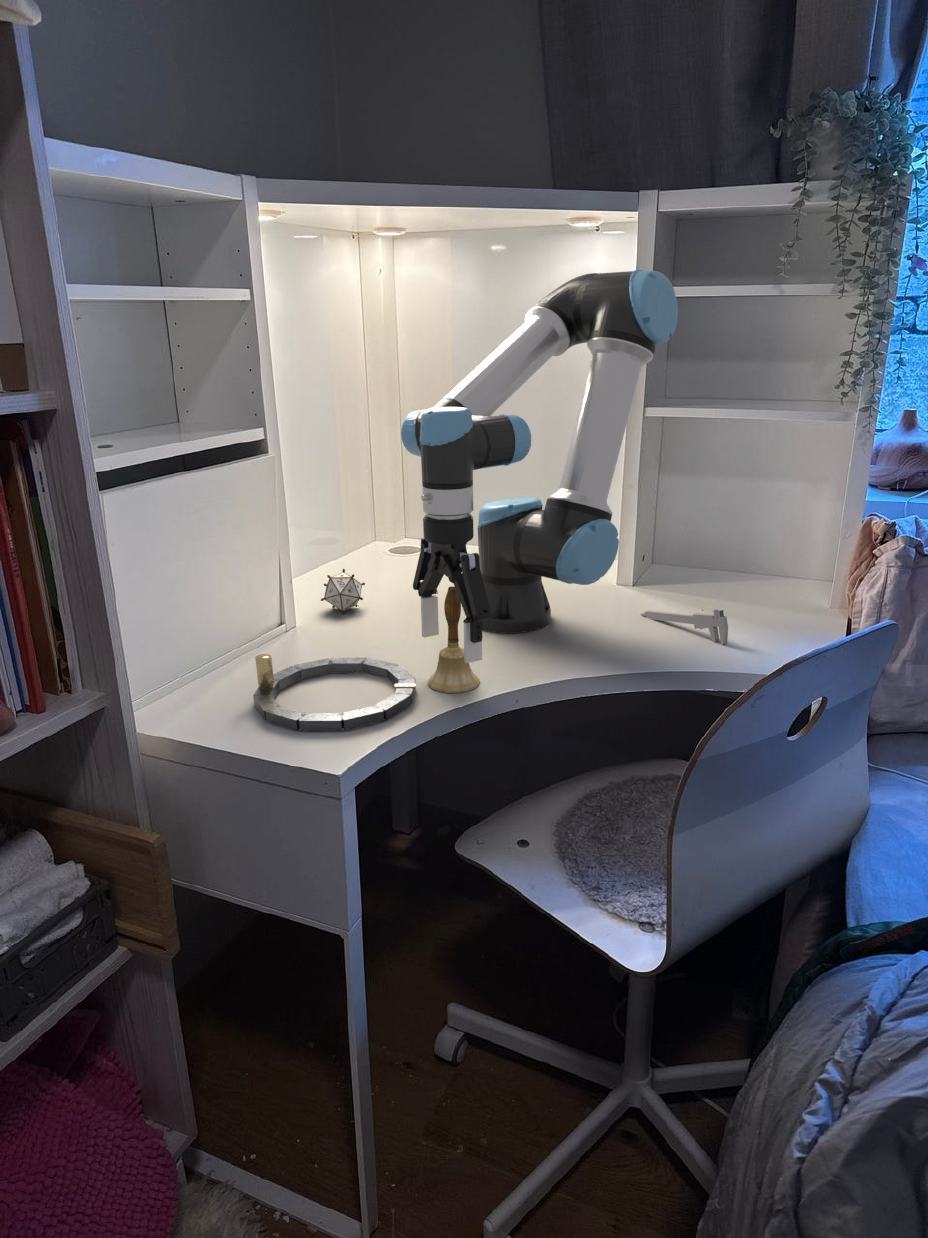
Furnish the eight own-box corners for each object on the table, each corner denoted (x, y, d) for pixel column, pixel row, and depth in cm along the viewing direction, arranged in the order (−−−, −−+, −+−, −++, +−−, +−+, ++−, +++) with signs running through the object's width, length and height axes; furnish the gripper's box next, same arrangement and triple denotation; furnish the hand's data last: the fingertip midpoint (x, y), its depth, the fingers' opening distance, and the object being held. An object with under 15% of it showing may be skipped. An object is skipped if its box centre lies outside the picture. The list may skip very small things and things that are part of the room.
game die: (355, 628, 178) (378, 594, 173) (317, 621, 173) (338, 586, 168) (347, 596, 184) (368, 562, 178) (309, 589, 179) (330, 554, 174)
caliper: (727, 645, 154) (729, 611, 152) (723, 647, 153) (725, 612, 151) (644, 615, 170) (645, 584, 168) (639, 616, 170) (641, 585, 168)
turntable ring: (278, 667, 149) (274, 630, 146) (423, 666, 147) (421, 628, 145) (237, 731, 126) (232, 688, 124) (407, 730, 125) (405, 687, 122)
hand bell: (478, 672, 145) (476, 578, 140) (481, 692, 137) (479, 594, 132) (427, 674, 145) (423, 580, 140) (427, 694, 137) (423, 596, 132)
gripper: (388, 503, 141) (394, 629, 147) (469, 532, 120) (471, 678, 127) (430, 498, 144) (433, 622, 151) (515, 525, 124) (514, 667, 130)
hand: (450, 647), depth 139 cm, fingers open, 13 cm apart
